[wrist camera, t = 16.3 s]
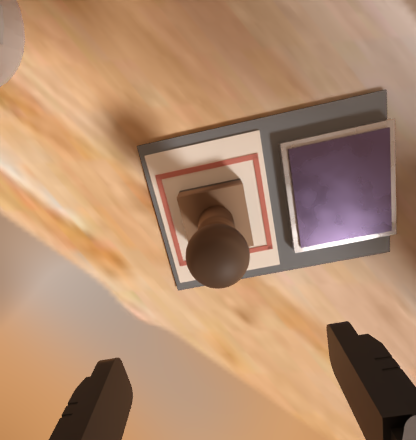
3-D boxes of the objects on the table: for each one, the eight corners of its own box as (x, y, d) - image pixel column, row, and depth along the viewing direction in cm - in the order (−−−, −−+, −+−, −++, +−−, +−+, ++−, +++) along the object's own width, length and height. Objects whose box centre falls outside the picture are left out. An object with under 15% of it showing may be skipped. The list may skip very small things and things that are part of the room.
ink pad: (386, 118, 26) (397, 118, 25) (389, 229, 30) (398, 235, 28) (277, 142, 27) (281, 144, 26) (291, 248, 30) (295, 254, 29)
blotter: (383, 89, 26) (388, 89, 25) (387, 250, 31) (391, 252, 30) (137, 145, 28) (136, 146, 27) (178, 288, 33) (177, 291, 32)
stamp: (240, 178, 28) (258, 215, 17) (250, 234, 30) (273, 303, 18) (179, 190, 28) (158, 235, 17) (193, 245, 30) (182, 319, 19)
